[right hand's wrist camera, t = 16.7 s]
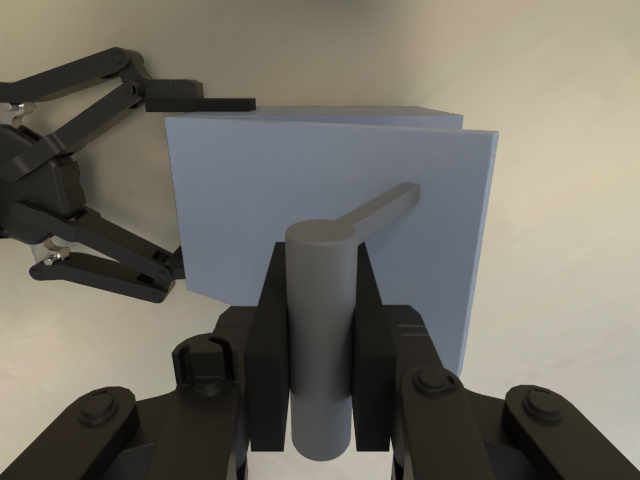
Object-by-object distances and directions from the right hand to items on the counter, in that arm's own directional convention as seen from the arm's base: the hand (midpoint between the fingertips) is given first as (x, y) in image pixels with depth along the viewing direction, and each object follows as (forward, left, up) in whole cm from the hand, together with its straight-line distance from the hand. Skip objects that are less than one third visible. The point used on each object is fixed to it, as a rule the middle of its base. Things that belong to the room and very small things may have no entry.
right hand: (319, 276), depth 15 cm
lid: (0, -1, -5) cm, 5 cm away
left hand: (+2, -4, -14) cm, 15 cm away
